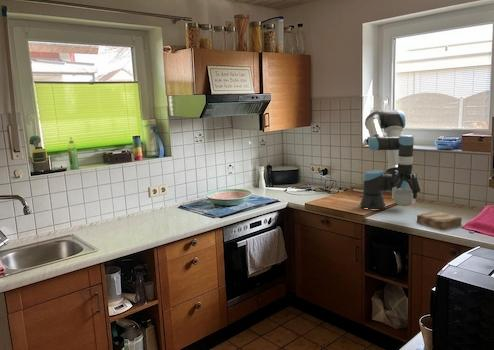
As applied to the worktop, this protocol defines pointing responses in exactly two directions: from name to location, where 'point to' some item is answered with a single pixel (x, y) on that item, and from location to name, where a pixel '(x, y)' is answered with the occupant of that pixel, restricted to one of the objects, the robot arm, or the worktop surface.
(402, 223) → the worktop surface
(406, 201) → the teacup
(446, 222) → the block
